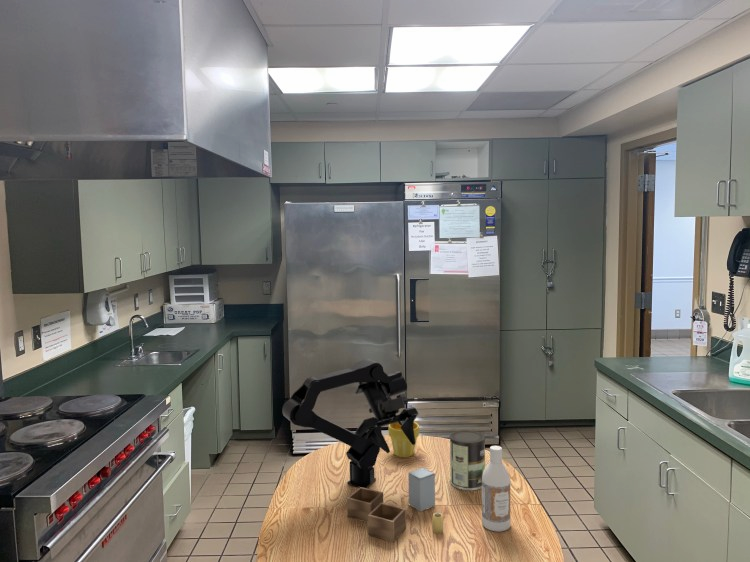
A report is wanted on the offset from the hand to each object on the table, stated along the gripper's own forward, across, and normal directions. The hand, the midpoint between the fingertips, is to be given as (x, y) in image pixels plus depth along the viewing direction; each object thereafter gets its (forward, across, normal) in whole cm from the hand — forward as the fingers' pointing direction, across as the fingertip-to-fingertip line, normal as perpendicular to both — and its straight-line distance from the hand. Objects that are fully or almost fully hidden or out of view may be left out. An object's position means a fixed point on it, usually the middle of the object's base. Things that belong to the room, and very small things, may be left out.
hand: (401, 448), depth 148 cm
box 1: (+11, -14, +8) cm, 20 cm away
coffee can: (+14, +20, +6) cm, 25 cm away
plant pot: (-6, +19, +26) cm, 32 cm away
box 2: (+18, -15, +1) cm, 23 cm away
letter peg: (+23, -5, -4) cm, 24 cm away
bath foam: (+29, +9, -9) cm, 31 cm away
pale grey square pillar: (+15, +1, +4) cm, 16 cm away
